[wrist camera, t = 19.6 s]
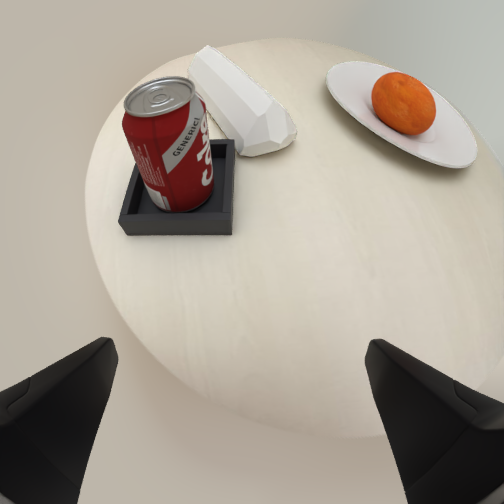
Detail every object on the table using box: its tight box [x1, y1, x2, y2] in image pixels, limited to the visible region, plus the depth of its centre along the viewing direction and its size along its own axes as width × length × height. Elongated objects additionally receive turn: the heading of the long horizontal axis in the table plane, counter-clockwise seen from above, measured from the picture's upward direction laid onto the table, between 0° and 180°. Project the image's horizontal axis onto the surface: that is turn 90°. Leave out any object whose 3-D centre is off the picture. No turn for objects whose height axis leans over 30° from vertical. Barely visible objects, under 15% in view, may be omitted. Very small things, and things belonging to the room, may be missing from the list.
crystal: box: [188, 45, 297, 157], centre depth 33 cm, size 7×7×24 cm
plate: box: [326, 61, 477, 168], centre depth 33 cm, size 28×28×9 cm
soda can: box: [122, 76, 214, 213], centre depth 22 cm, size 7×7×12 cm
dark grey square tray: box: [118, 139, 235, 235], centre depth 27 cm, size 11×11×3 cm
